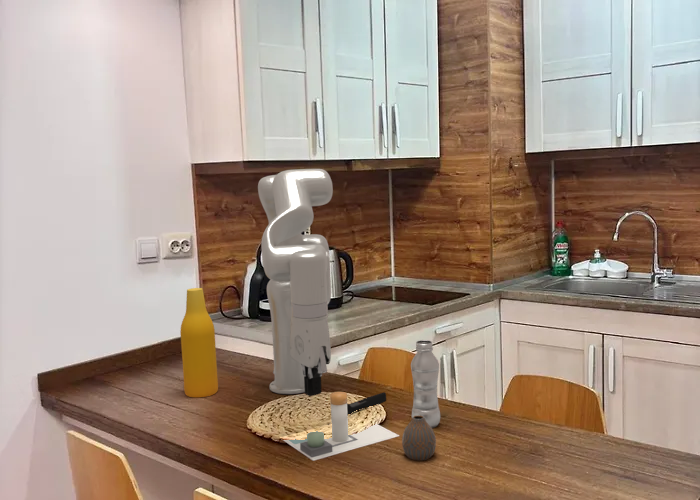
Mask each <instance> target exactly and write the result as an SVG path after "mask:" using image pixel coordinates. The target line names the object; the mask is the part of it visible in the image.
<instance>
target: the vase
mask: <svg viewBox="0 0 700 500" xmlns="http://www.w3.org/2000/svg"><path fill="white" fill-rule="evenodd" d="M401 440H402V441H401V444H402V449H403V451H404V454H405V456H407V458H408V459H410V460H414V461H426V460H428V459H431V458H432V456H433V455H434V454H435V450H436V445H437V440H436V435H435V432H434V428H431V427H430V425H429V424H428V423H427V422H426V420H425V418H424V417H423V416H421V415H416V416H413V417H412V416H411V420H410V421H409V423H408V424H407V425H406V427H405V428H404V431H403V434H402V439H401Z"/></svg>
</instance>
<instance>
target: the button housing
mask: <svg viewBox="0 0 700 500" xmlns="http://www.w3.org/2000/svg"><path fill="white" fill-rule="evenodd" d="M300 450H301V451H303V452H304V453H306V454H307V455H309V456H310V457H316V456H319V455H323V454H326V453H330V452H332V445H331V444H330V443H328V442H327V441H325V440H324V445H322V446H320V447H310V446H308V442H303V443H300Z"/></svg>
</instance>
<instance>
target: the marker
mask: <svg viewBox="0 0 700 500" xmlns="http://www.w3.org/2000/svg"><path fill="white" fill-rule="evenodd" d="M329 397H330V399H329V403H330V418H331V419H330V420H331V423H332V440H333V441H335V442H344V441H347V440H348V419H349V418H348V417H349V416H348V414H347V404H348V393H347V392H344V391H334V392H331V393H330V394H329Z"/></svg>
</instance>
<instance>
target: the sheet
mask: <svg viewBox="0 0 700 500" xmlns="http://www.w3.org/2000/svg"><path fill="white" fill-rule="evenodd" d="M397 437H400V434H398V433H395V432H394V431H391V430H389V429H388V428H385V427H383V426H382V425H380V424H377V423H376V424H375V425H373V426H371V427H369V428H368V429H366V430H364V431H362V432H360V433H357V434H353V435H348V440H347V441H344V442H335V441H333V440H332V438H329V439H324V440H325V441H327V442H328V443H330V444H331V445H332V452H330V453H326V454H323V455H319V456H316V457H310V456H309V455H307V454H306V453H304V452H303V451H301V450H300V443H303V442H307V439H305V440H296V439H295V440H282V441H283V442H285V443H287V444H288V445H289V446H291V447H292V448H294V449H295V450H297V451H298V452H300V453H301V454H303V455H304V456H306V458H308V459H310V460H311V461H312V462H313V461H317V460H320V459H325V458H327V457H331V456H336V455H338V454H342V453H345V452H348V451H352V450H355V449H359V448H363V447H366V446H370V445H373V444H377V443H380V442H383V441H387V440H390V439H394V438H397Z"/></svg>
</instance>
